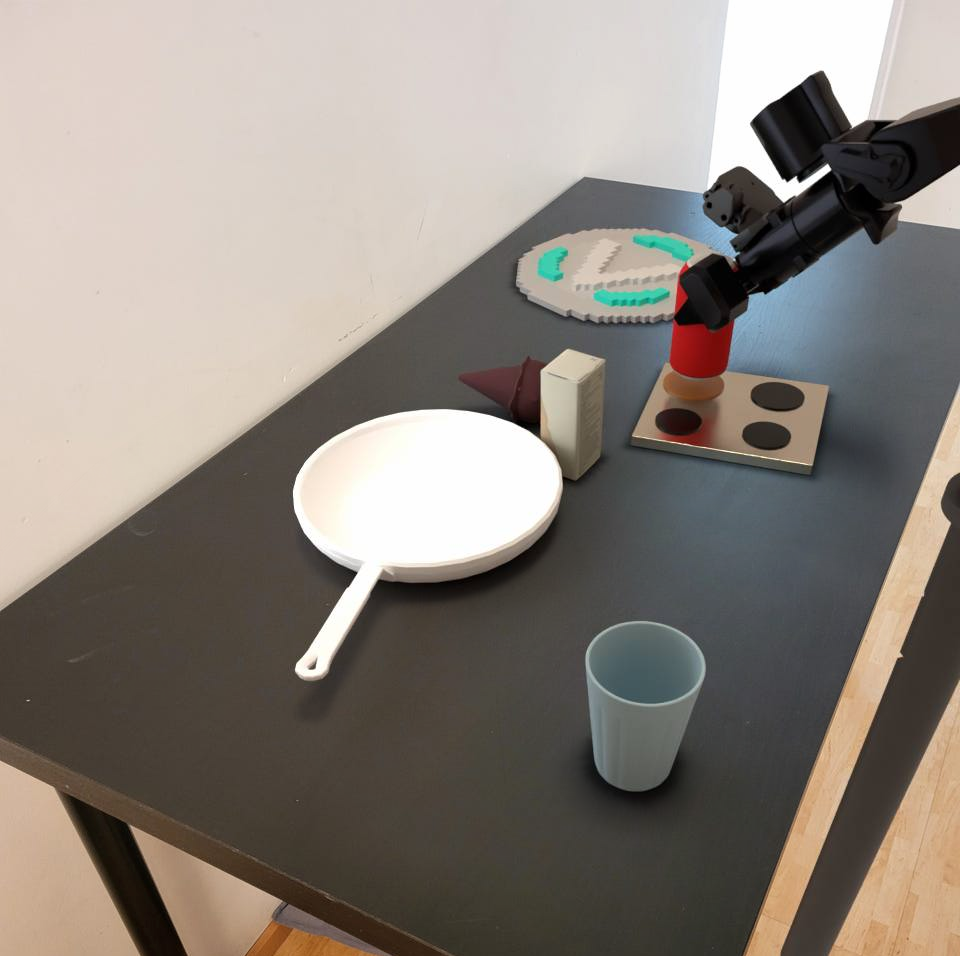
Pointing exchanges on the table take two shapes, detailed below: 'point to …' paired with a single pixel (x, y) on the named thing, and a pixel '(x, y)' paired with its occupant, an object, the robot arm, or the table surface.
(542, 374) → the box
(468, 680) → the table surface
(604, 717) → the cup
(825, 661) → the table surface
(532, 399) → the icecream
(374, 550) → the pan
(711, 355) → the beverage can
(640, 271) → the grey teal round disc
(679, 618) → the table surface
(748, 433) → the stove
